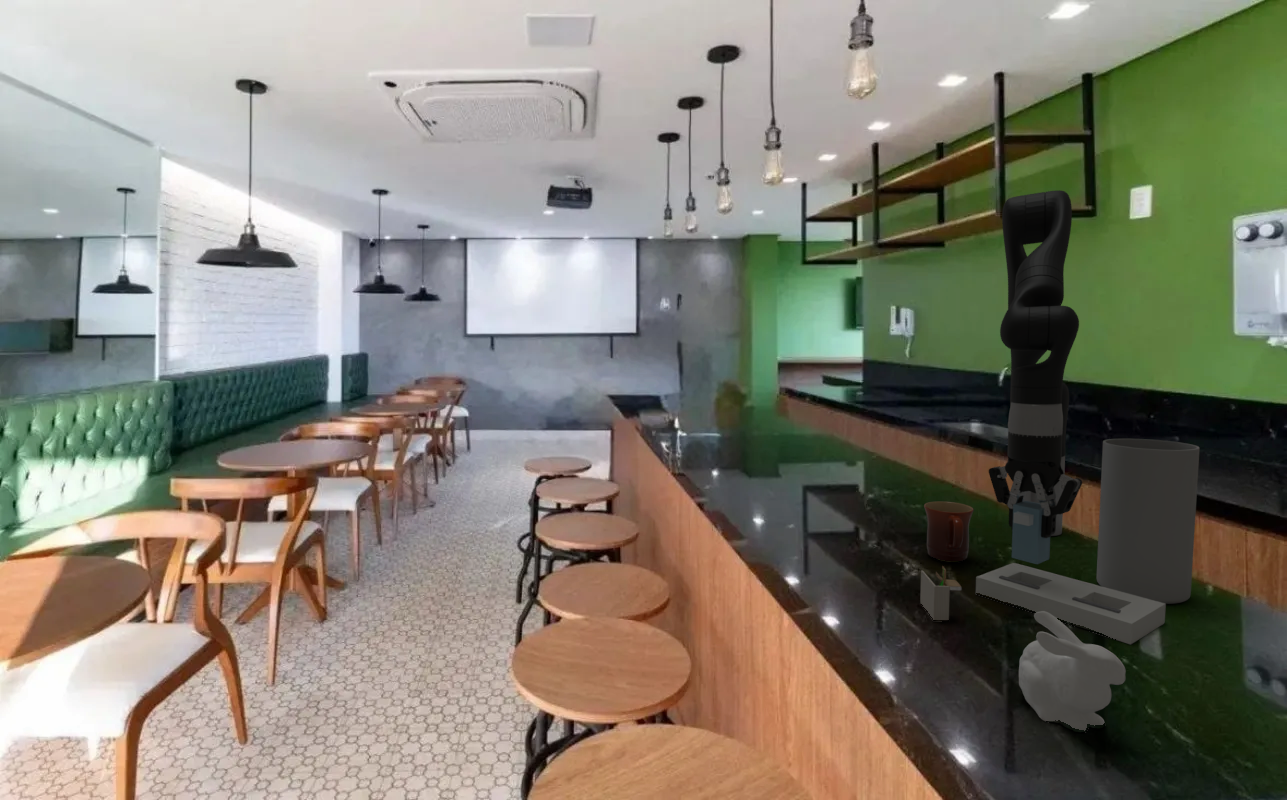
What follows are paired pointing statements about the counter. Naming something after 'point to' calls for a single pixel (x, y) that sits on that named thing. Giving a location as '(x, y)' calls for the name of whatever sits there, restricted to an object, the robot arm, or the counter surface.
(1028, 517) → the plug
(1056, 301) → the robot arm
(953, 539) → the mug
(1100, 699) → the rabbit
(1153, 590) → the cylinder vase
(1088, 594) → the port panel
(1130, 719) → the counter surface
